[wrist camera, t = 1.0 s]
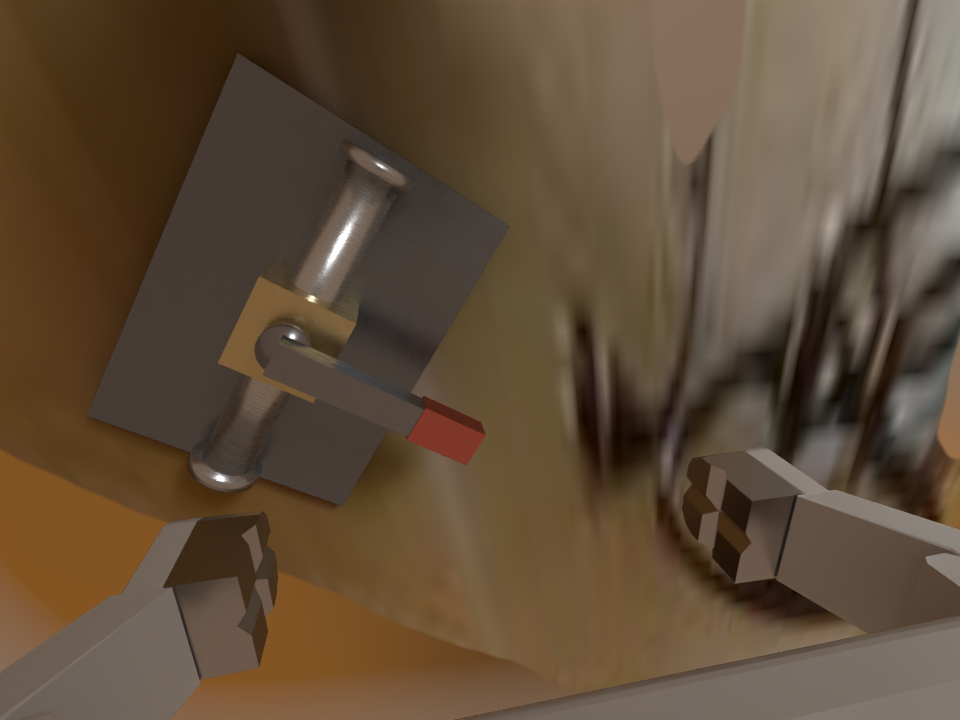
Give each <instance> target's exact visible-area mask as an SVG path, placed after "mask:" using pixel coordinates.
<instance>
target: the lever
mask: <svg viewBox="0 0 960 720" xmlns="http://www.w3.org/2000/svg"><path fill="white" fill-rule="evenodd" d="M254 352H255V357H256V360H257V362H258V363H259V365H260V366H261V367H262V368H263V369H264V372H263V374H262V375H263V376H265V377H268V378H270V379H272V380H275V381H277V382H279V383H282V384H284V385H287V386H289V387H291V388H294V389H296V390H298V391H301V392H303V393H305V394H308V395H310V396H312V397H315V398H317V399H320V400H322V401H324V402H327V403H329V404H331V405H334V406H336V407H338V408H341V409H343V410H345V411H348V412H350V413H353V414H355V415H357V416H360V417H362V418H364V419H367V420H369V421H371V422H374V423H376V424H378V425H381V426H383V427H386V428H388V429H390V430H393V431H395V432H397V433H400V434H402V435H404V436H406V438H407V440H408V441H410V442H413V443H415V444H417V445H420V446H422V447H425V448H427V449H429V450H432V451H434V452H436V453H439V454H441V455H444V456H446V457H448V458H451V459H453V460H455V461H458V462H460V463H463V464H465V465H467V463H468V462H469V460H470V459H471V457H472V456H473V454H474V453H475V451H476V450H477V448H478V447H479V445H480V444H481V442H482V440H483V439H484V437H485V436H486V434H485V432H484V429H483V426H482V424H481V422H479V421H477V420H475V419H473V418H471V417H469V416H466V415H464V414H462V413H460V412H458V411H456V410H453V409H451V408H449V407H447V406H445V405H443V404H440V403H438V402H436V401H434V400H432V399H430V398H427V397H425V396H423V398H420V397H418V396H416V395H414V394H411V393H409V392H407V391H405V390H403V389H401V388H398V387H396V386H394V385H392V384H390V383H387V382H385V381H383V380H381V379H379V378H377V377H374V376H372V375H370V374H368V373H366V372H364V371H361V370H359V369H357V368H355V367H353V366H350V365H348V364H346V363H344V362H342V361H340V360H337V359H335V358H333V357H331V356H329V355H326V354H324V353H322V352H320V351H318V350H316V349H314V342H313V338H312V336H311V334H310V333H309V331H308V330H307V329H306V328H305V327H304V326H302V325H301V324H299V323H297V322H294V321H289V320H280V321H276V322H273V323H271V324H270V325H268V326H267V327H266V328H265V329H264V330H263V332H262V333H261V334H260V336H259V337H258V339H257V341H256V343H255V348H254Z"/></svg>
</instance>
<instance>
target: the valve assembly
mask: <svg viewBox="0 0 960 720" xmlns="http://www.w3.org/2000/svg"><path fill="white" fill-rule="evenodd" d="M509 227H510V226H509V225H507V224H506V223H504V222H503V221H501V220H499V219H498V218H496V217H495V216H493V215H492V214H490V213H488V212H487V211H485V210H484V209H482V208H481V207H479V206H477V205H476V204H474V203H473V202H471V201H470V200H468V199H466V198H465V197H463V196H462V195H460V194H459V193H457V192H455V191H454V190H452V189H451V188H449V187H448V186H446V185H444V184H443V183H441V182H440V181H438V180H437V179H435V178H433V177H432V176H430V175H429V174H427V173H426V172H424V171H422V170H421V169H419V168H418V167H416V166H415V165H413V164H411V163H410V162H408V161H407V160H405V159H404V158H402V157H400V156H399V155H397V154H396V153H394V152H393V151H391V150H389V149H388V148H386V147H385V146H383V145H382V144H380V143H378V142H377V141H375V140H374V139H372V138H371V137H369V136H367V135H366V134H364V133H363V132H361V131H360V130H358V129H356V128H355V127H353V126H352V125H350V124H349V123H347V122H345V121H344V120H342V119H341V118H339V117H338V116H336V115H334V114H333V113H331V112H330V111H328V110H327V109H325V108H323V107H322V106H320V105H319V104H317V103H316V102H314V101H312V100H311V99H309V98H308V97H306V96H305V95H303V94H301V93H300V92H298V91H297V90H295V89H294V88H292V87H290V86H289V85H287V84H286V83H284V82H283V81H281V80H279V79H278V78H276V77H275V76H273V75H272V74H270V73H268V72H267V71H265V70H264V69H262V68H261V67H259V66H257V65H256V64H254V63H253V62H251V61H250V60H248V59H246V58H245V57H243V56H242V55H240V54H239V53H237V56H236V58H235V60H234V63H233V65H232V68H231V70H230V72H229V75H228V77H227V80H226V82H225V84H224V87H223V89H222V92H221V94H220V96H219V99H218V101H217V104H216V106H215V108H214V111H213V113H212V116H211V118H210V120H209V123H208V125H207V128H206V130H205V132H204V135H203V137H202V140H201V142H200V144H199V147H198V149H197V152H196V154H195V156H194V159H193V161H192V164H191V166H190V168H189V171H188V173H187V176H186V178H185V180H184V183H183V185H182V188H181V190H180V193H179V195H178V197H177V200H176V202H175V205H174V207H173V209H172V212H171V214H170V217H169V219H168V221H167V224H166V226H165V229H164V231H163V233H162V236H161V238H160V241H159V243H158V245H157V248H156V250H155V253H154V255H153V257H152V260H151V262H150V265H149V267H148V269H147V272H146V274H145V277H144V279H143V281H142V284H141V286H140V289H139V291H138V293H137V296H136V298H135V301H134V303H133V305H132V308H131V310H130V313H129V315H128V317H127V320H126V322H125V325H124V327H123V330H122V332H121V334H120V337H119V339H118V342H117V344H116V346H115V349H114V351H113V354H112V356H111V358H110V361H109V363H108V366H107V368H106V370H105V373H104V375H103V378H102V380H101V382H100V385H99V387H98V390H97V392H96V394H95V397H94V399H93V402H92V404H91V406H90V409H89V411H88V414H87V416H89V417H92V418H94V419H97V420H100V421H103V422H106V423H109V424H111V425H114V426H117V427H120V428H123V429H126V430H128V431H131V432H134V433H137V434H140V435H143V436H145V437H148V438H151V439H154V440H157V441H160V442H162V443H165V444H168V445H171V446H174V447H177V448H179V449H182V450H185V451H188V452H191V453H190V455H189V457H188V459H187V469H188V471H189V473H190V474H191V475H192V477H193V478H194V479H195V480H197V481H198V482H199V483H201V484H202V485H204V486H206V487H208V488H211V489H214V490H217V491H222V492H241V491H245V490H247V489H249V488H251V487H252V486H253V485H254V484H255V483H256V481H257V479H258V477H262V478H264V479H267V480H270V481H273V482H276V483H278V484H281V485H284V486H287V487H290V488H293V489H295V490H298V491H301V492H304V493H307V494H310V495H312V496H315V497H318V498H321V499H324V500H327V501H329V502H332V503H335V504H338V505H341V506H343V505H344V503H345V501H346V500H347V498H348V496H349V495H350V493H351V491H352V490H353V488H354V486H355V485H356V483H357V481H358V480H359V478H360V476H361V475H362V473H363V471H364V470H365V468H366V466H367V464H368V463H369V461H370V459H371V458H372V456H373V454H374V453H375V451H376V449H377V448H378V446H379V444H380V443H381V441H382V439H383V438H384V436H385V434H386V433H387V431H388V428H386V427H383V426H381V425H378V424H376V423H374V422H371V421H369V420H367V419H364V418H362V417H360V416H357V415H355V414H353V413H350V412H348V411H345V410H343V409H341V408H338V407H336V406H334V405H331V404H329V403H327V402H324V401H322V400H320V399H317V398H315V397H312V396H310V395H308V394H305V393H303V392H301V391H298V390H296V389H294V388H291V387H289V386H287V385H284V384H282V383H279V382H277V381H275V380H272V379H270V378H268V377H265V376H263V375H262V374H263V372H264V369H263V368H262V367H261V366H260V365H259V363H258V362H257V360H256V357H255V352H254V348H255V343H256V341H257V339H258V337H259V336H260V334H261V333H262V332H263V330H264V329H265V328H266V327H267V326H268V325H270V324H271V323H273V322H276V321H280V320H289V321H294V322H297V323H299V324H301V325H302V326H304V327H305V328H306V329H307V330H308V331H309V333H310V334H311V336H312V338H313V342H314V349H316V350H318V351H320V352H322V353H324V354H326V355H329V356H331V357H333V358H335V359H337V360H340V361H342V362H344V363H346V364H348V365H350V366H353V367H355V368H357V369H359V370H361V371H364V372H366V373H368V374H370V375H372V376H374V377H377V378H379V379H381V380H383V381H385V382H387V383H390V384H392V385H394V386H396V387H398V388H401V389H403V390H405V391H407V392H409V393H410V392H411V391H412V389H413V387H414V386H415V384H416V382H417V381H418V379H419V377H420V376H421V374H422V372H423V371H424V369H425V367H426V366H427V364H428V362H429V361H430V359H431V357H432V356H433V354H434V352H435V351H436V349H437V347H438V346H439V344H440V342H441V341H442V339H443V337H444V335H445V334H446V332H447V330H448V329H449V327H450V325H451V324H452V322H453V320H454V319H455V317H456V315H457V314H458V312H459V310H460V309H461V307H462V305H463V304H464V302H465V300H466V299H467V297H468V295H469V294H470V292H471V290H472V289H473V287H474V285H475V284H476V282H477V280H478V279H479V277H480V275H481V274H482V272H483V270H484V268H485V267H486V265H487V263H488V262H489V260H490V258H491V257H492V255H493V253H494V252H495V250H496V248H497V247H498V245H499V243H500V242H501V240H502V238H503V237H504V235H505V233H506V232H507V230H508V228H509Z"/></svg>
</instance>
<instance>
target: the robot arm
mask: <svg viewBox="0 0 960 720" xmlns="http://www.w3.org/2000/svg"><path fill="white" fill-rule="evenodd" d="M687 477H688V479H689V480H690V482H691V484H692V485H691V486H690V487H689V489H688V490H687V491H686V492H685V494H684V496H683V505H682V511H683V515H684V520H685V523H686V525H687V527H688V529H689V531H690V533H691V534H692V535H693V536H694V537H695V539H696V540H697V541H698V542H700V543H702V544H704V545H706V546H708V547H710V548H712V558H713V559H714V560H715V562H716V563H717V564H718V565H719V566H720V567H721V568H722V570H723V571H724V572H725V573H726V574H727V575H728V576H729V577H730V579H731V580H732V581H733V582H734V583H742V582H749V581H756V580H763V579H770V578H777V579H776V580H778V581H779V582H781V583H783V584H784V585H786V586H788V587H790V588H791V589H793V590H795V591H796V592H798V593H800V594H801V595H803V596H805V597H807V598H808V599H810V600H812V601H813V602H815V603H817V604H818V605H820V606H822V607H824V608H825V609H827V610H829V611H830V612H832V613H834V614H835V615H837V616H839V617H841V618H842V619H844V620H846V621H847V622H849V623H851V624H852V625H854V626H856V627H858V628H859V629H861V630H863V631H864V632H866V633H868V634H865V635H861V636H856V637H851V638H846V639H841V640H837V641H832V642H827V643H822V644H817V645H812V646H808V647H803V648H798V649H793V650H788V651H783V652H778V653H774V654H769V655H764V656H759V657H754V658H749V659H744V660H740V661H735V662H730V663H725V664H720V665H715V666H710V667H706V668H701V669H696V670H691V671H686V672H681V673H677V674H672V675H667V676H662V677H657V678H652V679H648V680H643V681H638V682H633V683H628V684H624V685H619V686H614V687H609V688H604V689H600V690H595V691H590V692H585V693H580V694H575V695H571V696H566V697H561V698H556V699H551V700H547V701H542V702H537V703H533V704H527V705H523V706H518V707H513V708H508V709H503V710H498V711H494V712H489V713H484V714H480V715H474V716H470V717H465V718H460V719H455V720H960V530H958V529H955V528H952V527H949V526H946V525H943V524H940V523H937V522H934V521H931V520H927V519H924V518H921V517H918V516H915V515H912V514H909V513H906V512H903V511H899V510H896V509H893V508H890V507H887V506H884V505H881V504H878V503H875V502H871V501H868V500H865V499H862V498H859V497H856V496H853V495H850V494H847V493H844V492H840V491H837V490H832V491H828V490H827V489H825V488H824V487H822V486H821V485H819V484H818V483H817V482H815V481H814V480H812V479H811V478H809V477H808V476H806V475H805V474H804V473H802V472H801V471H799V470H798V469H796V468H795V467H793V466H792V465H791V464H789V463H788V462H786V461H785V460H783V459H782V458H780V457H779V456H778V455H776V454H775V453H773V452H772V451H770V450H769V449H765V448H761V447H759V448H753V449H747V450H741V451H737V452H731V453H724V454H717V455H710V456H703V457H695V458H692V460H691V461H690V463H689V465H688V470H687ZM269 535H270V527H269V523H268V518H267V515H266V514H265V513H264V512H263V511H261V512H251V513H242V514H232V515H223V516H213V517H204V518H202V519H201V518H195V519H187V520H179V521H171V522H169V523H167V524H165V525H164V526H163V528H162V529H161V531H160V532H159V534H158V535H157V537H156V539H155V540H154V542H153V544H152V545H151V547H150V548H149V550H148V552H147V553H146V555H145V556H144V558H143V560H142V561H141V563H140V565H139V566H138V568H137V569H136V571H135V573H134V574H133V576H132V577H131V579H130V581H129V582H128V584H127V586H126V587H125V589H124V590H123V592H122V594H121V595H114V596H110V597H108V598H107V599H105V600H104V601H102V602H101V603H99V604H98V605H97V606H95V607H94V608H92V609H91V610H89V611H88V612H87V613H85V614H84V615H82V616H81V617H79V618H78V619H76V620H75V621H74V622H72V623H71V624H69V625H68V626H66V627H65V628H63V629H62V630H61V631H59V632H58V633H56V634H55V635H53V636H52V637H50V638H49V639H48V640H46V641H45V642H43V643H42V644H40V645H39V646H37V647H36V648H35V649H33V650H32V651H30V652H29V653H27V654H26V655H25V656H23V657H22V658H20V659H19V660H17V661H16V662H14V663H13V664H12V665H10V666H9V667H7V668H6V669H4V670H3V671H1V672H0V720H170V719H171V717H172V716H173V715H174V714H175V713H176V711H177V710H178V709H179V708H180V707H181V705H182V704H183V703H184V702H185V701H186V700H187V698H188V697H189V696H190V695H191V694H192V692H193V691H194V690H195V689H196V688H197V687H198V685H199V684H200V680H201V679H206V678H212V677H216V676H221V675H226V674H231V673H236V672H240V671H246V670H250V669H255V668H259V666H260V662H261V658H262V654H263V650H264V646H265V641H266V638H267V633H268V629H267V624H266V619H265V617H266V616H267V615H268V614H269V613H270V612H271V611H272V610H273V608H274V604H275V600H276V595H277V582H278V573H277V562H276V556H275V552H274V551H273V550H272V549H270V548H269V547H268V546H267V542H268V538H269Z"/></svg>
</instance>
